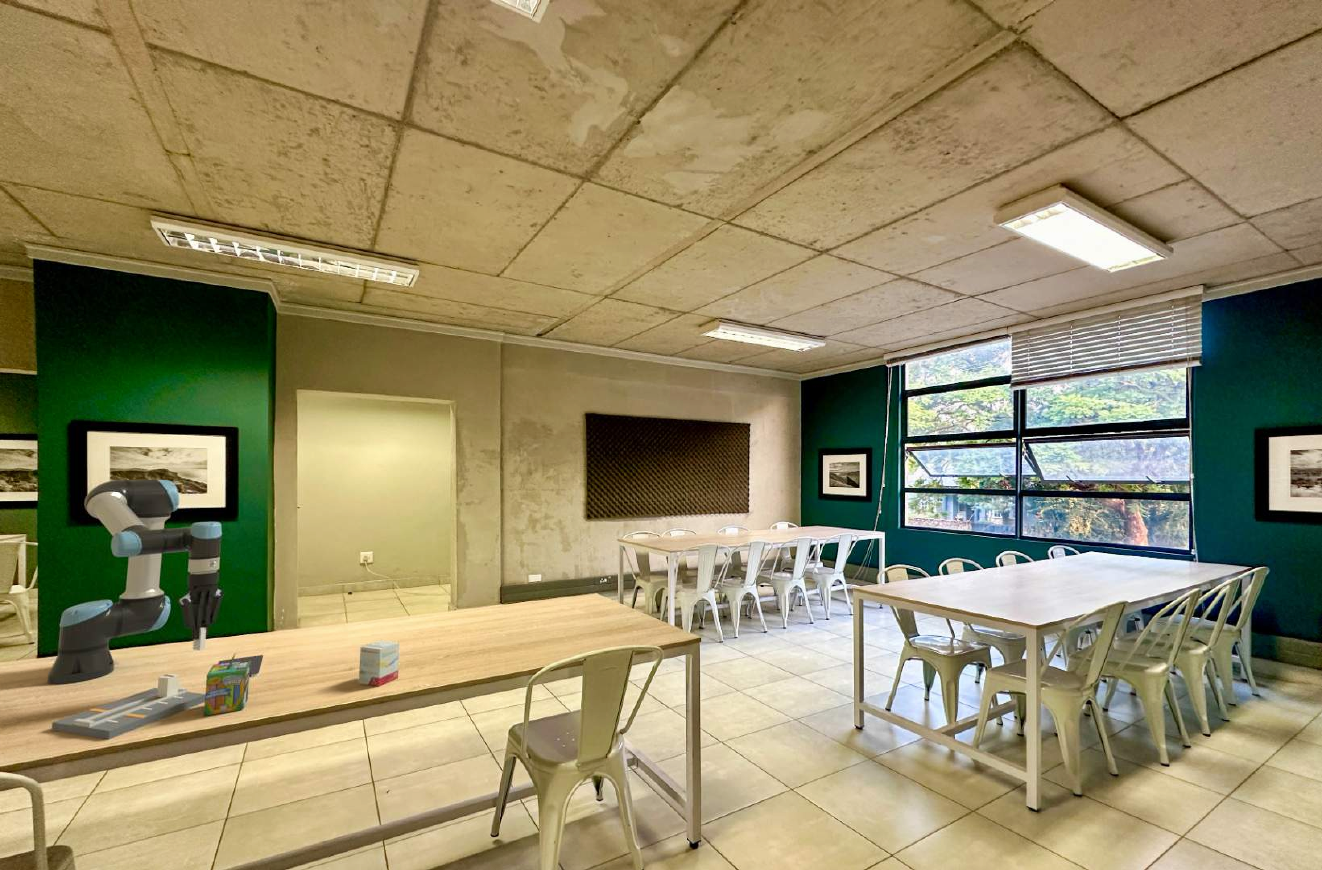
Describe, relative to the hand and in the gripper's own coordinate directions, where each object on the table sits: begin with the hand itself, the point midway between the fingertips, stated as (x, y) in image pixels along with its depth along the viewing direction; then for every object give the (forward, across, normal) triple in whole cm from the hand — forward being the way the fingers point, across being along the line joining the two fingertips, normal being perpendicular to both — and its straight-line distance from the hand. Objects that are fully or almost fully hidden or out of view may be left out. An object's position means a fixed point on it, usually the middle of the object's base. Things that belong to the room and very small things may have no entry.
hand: (198, 649), depth 170 cm
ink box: (+14, +22, -47) cm, 54 cm away
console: (+13, -16, 0) cm, 21 cm away
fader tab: (+11, -8, 0) cm, 13 cm away
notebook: (+14, +19, +6) cm, 24 cm away
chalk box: (+14, -6, -20) cm, 25 cm away
